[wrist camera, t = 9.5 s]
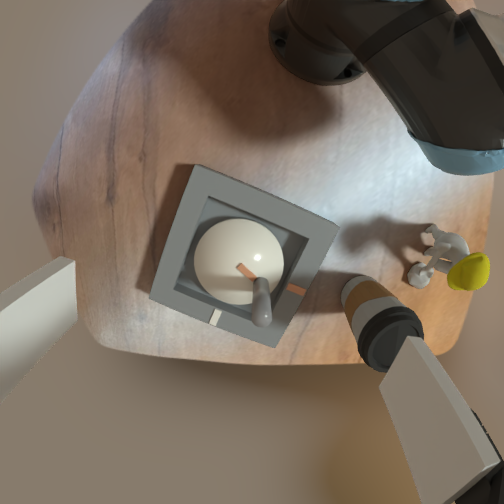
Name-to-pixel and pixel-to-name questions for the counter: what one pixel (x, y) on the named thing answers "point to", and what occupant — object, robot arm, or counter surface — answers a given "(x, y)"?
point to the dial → (240, 265)
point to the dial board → (246, 206)
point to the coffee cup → (378, 321)
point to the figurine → (451, 263)
